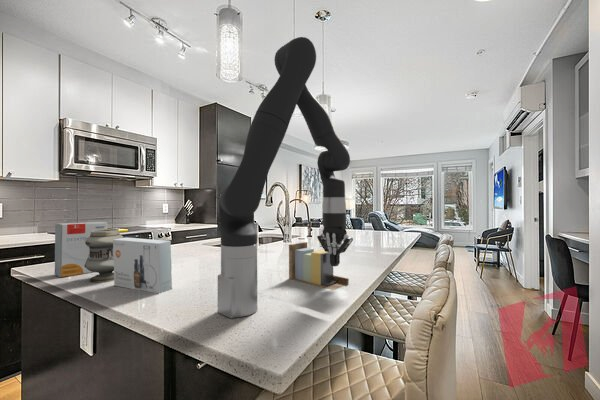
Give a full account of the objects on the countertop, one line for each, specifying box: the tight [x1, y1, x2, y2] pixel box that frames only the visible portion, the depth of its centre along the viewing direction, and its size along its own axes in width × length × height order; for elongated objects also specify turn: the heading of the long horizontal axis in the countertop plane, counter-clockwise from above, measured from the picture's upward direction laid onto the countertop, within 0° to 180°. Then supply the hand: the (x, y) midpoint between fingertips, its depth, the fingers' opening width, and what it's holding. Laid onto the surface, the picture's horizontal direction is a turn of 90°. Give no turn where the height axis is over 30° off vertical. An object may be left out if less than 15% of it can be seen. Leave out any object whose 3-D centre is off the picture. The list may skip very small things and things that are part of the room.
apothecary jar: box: [85, 228, 125, 283], centre depth 104 cm, size 12×12×18 cm
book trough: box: [288, 241, 350, 291], centre depth 96 cm, size 8×19×13 cm, turn 47°
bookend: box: [321, 252, 338, 287], centre depth 92 cm, size 6×3×10 cm, turn 137°
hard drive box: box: [54, 221, 108, 278], centre depth 114 cm, size 16×8×20 cm, turn 143°
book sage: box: [303, 253, 311, 282], centre depth 97 cm, size 6×4×9 cm, turn 137°
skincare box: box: [113, 236, 173, 294], centre depth 93 cm, size 21×6×16 cm, turn 68°
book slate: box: [295, 247, 315, 280], centre depth 100 cm, size 6×4×10 cm
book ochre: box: [311, 249, 327, 285], centre depth 95 cm, size 6×4×10 cm
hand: (334, 265), depth 91 cm, fingers closed
